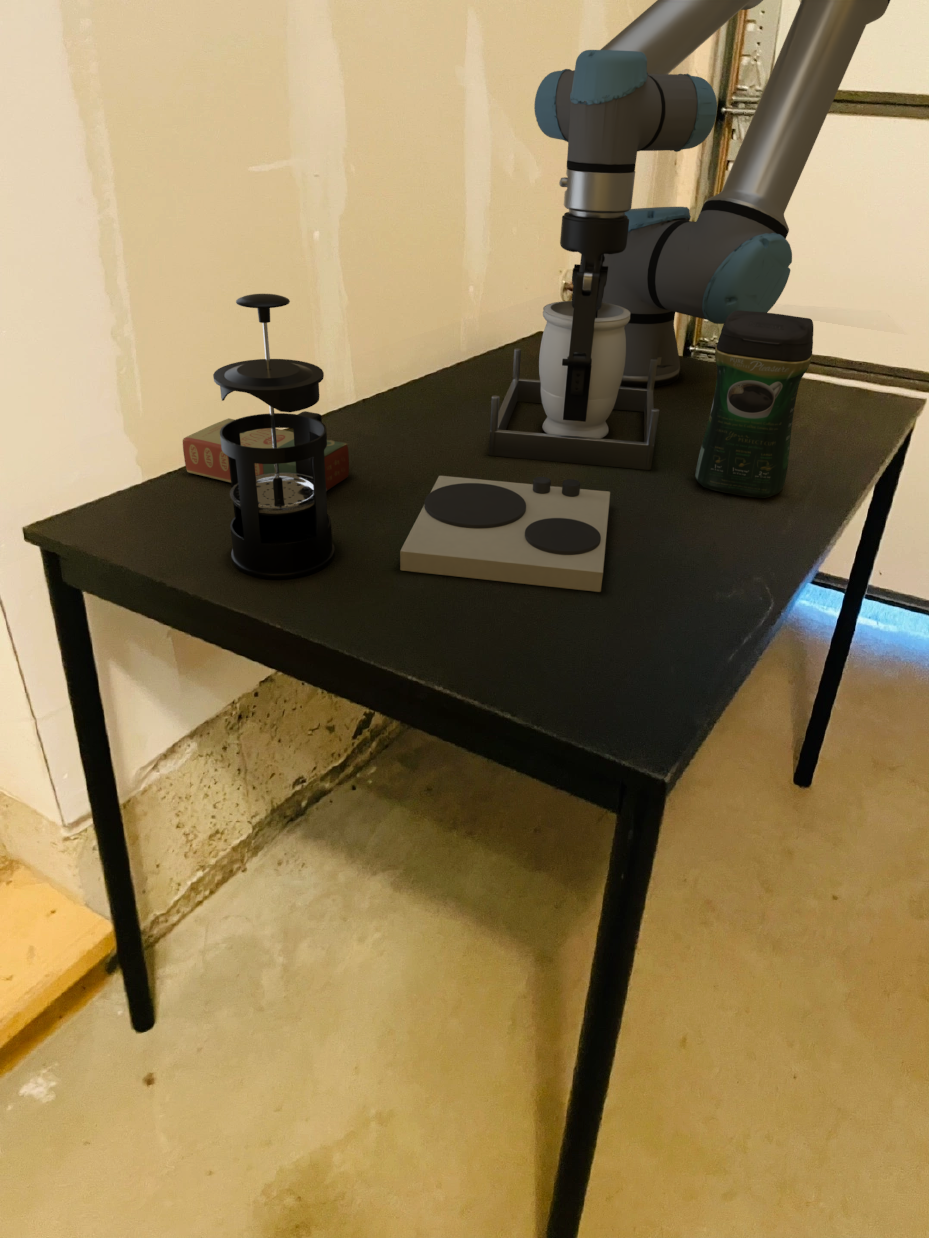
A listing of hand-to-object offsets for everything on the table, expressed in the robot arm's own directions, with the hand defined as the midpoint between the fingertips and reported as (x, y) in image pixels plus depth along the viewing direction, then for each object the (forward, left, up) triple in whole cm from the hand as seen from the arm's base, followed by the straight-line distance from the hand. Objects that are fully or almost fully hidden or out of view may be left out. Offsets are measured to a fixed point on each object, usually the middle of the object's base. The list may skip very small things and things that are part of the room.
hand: (577, 405), depth 113 cm
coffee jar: (+13, +19, -4) cm, 23 cm away
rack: (0, 0, -3) cm, 3 cm away
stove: (+32, -4, -3) cm, 32 cm away
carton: (+23, -32, -4) cm, 40 cm away
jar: (0, 0, -4) cm, 4 cm away
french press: (+40, -24, -4) cm, 47 cm away
